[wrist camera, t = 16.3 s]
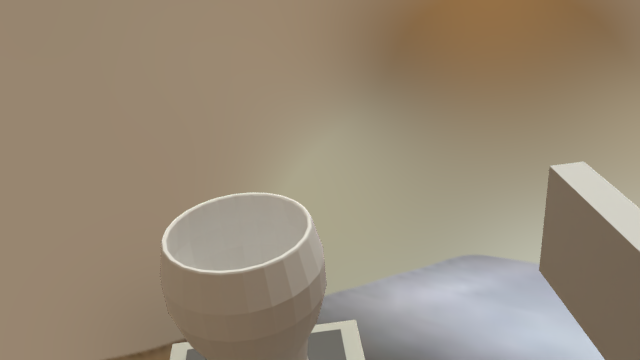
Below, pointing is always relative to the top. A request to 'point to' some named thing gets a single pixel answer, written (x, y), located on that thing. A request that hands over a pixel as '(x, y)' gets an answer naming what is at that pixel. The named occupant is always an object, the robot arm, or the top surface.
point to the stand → (323, 344)
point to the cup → (244, 277)
